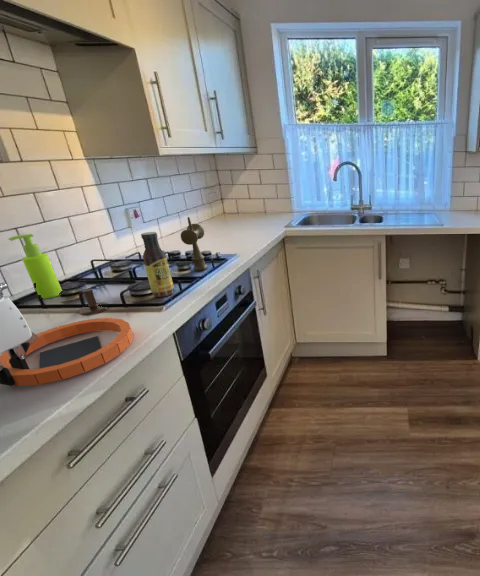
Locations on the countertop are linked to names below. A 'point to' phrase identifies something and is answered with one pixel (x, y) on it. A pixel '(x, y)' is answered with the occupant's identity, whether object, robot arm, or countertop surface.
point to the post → (91, 304)
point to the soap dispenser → (39, 268)
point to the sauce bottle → (156, 266)
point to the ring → (78, 365)
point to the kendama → (194, 244)
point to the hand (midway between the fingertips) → (16, 379)
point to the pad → (69, 352)
